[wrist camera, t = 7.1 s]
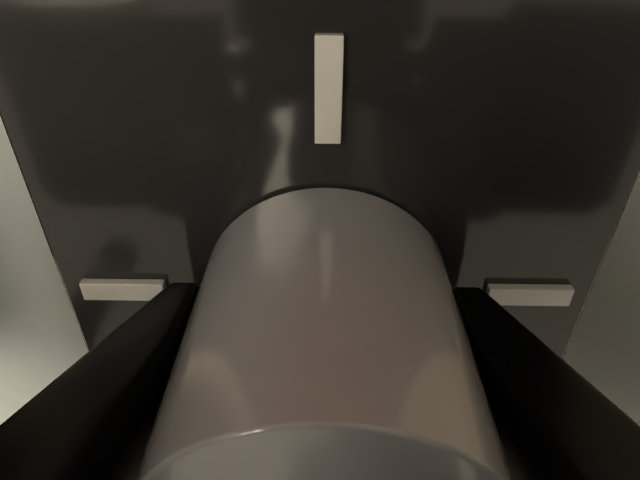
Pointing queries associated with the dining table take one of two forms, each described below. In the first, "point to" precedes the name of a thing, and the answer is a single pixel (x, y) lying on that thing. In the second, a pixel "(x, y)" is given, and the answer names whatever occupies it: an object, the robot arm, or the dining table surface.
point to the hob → (325, 134)
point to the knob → (325, 355)
